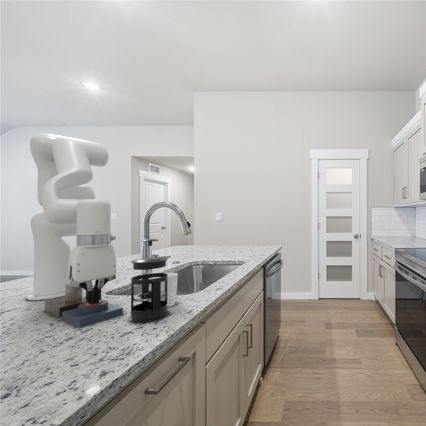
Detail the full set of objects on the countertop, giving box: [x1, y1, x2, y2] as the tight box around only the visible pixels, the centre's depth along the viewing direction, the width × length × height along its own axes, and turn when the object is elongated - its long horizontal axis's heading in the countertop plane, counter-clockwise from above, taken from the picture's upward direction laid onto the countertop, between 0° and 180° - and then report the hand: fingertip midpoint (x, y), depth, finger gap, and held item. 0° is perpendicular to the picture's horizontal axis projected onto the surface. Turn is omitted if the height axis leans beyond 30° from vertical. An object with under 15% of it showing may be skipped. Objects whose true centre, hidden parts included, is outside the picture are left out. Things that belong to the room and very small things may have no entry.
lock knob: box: [64, 284, 83, 302], centre depth 81 cm, size 4×4×5 cm
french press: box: [129, 238, 169, 324], centre depth 74 cm, size 12×9×23 cm
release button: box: [85, 301, 101, 306], centre depth 75 cm, size 4×4×2 cm
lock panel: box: [44, 292, 103, 319], centre depth 81 cm, size 12×10×3 cm
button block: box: [61, 299, 124, 329], centre depth 75 cm, size 12×10×4 cm
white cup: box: [151, 272, 179, 308], centre depth 85 cm, size 8×8×10 cm
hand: (93, 302), depth 74 cm, fingers closed
